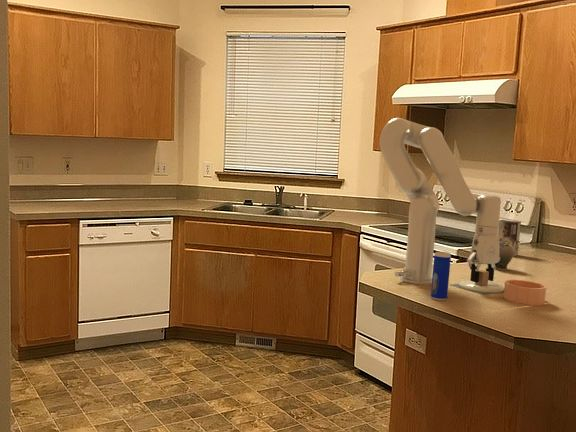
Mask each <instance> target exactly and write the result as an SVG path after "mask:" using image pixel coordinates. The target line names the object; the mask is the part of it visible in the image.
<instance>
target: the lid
mask: <svg viewBox="0 0 576 432" xmlns="http://www.w3.org/2000/svg"><path fill="white" fill-rule="evenodd" d="M478 271H480V273H479V282H478V283H476V282H472V281H470V280H469V279H467V280H460V281H459V283H458V284H459V286H460V287H461V288H463V289H462V290H464V289H466V290H465V291H468V290H470V291H469V292H471V291H475V292H482V293H495V294H501V293H500V292H503V291H504V286H503V285H501V284H498V283H496V282H495V283H494V282H492V281H489V280H488V277H489V272H488V271H486V270H484V269H479V270H478ZM461 288H460V289H461ZM503 293H504V292H503Z"/></svg>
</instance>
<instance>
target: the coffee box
mask: <svg viewBox="0 0 576 432" xmlns="http://www.w3.org/2000/svg"><path fill="white" fill-rule="evenodd" d="M521 223H522V222H521V221H516V220H508V219H501V220H500V219H499V226H498V235H499V242H500V241H501V239H502V242H507V243H508V242H509V244H510V245H512V247H513V249H514V252H515V254H514V256H513V257H516V256H518V255H519V249H520V248H519V246H520V236H521V235H520V234H521Z"/></svg>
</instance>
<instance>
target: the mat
mask: <svg viewBox="0 0 576 432" xmlns="http://www.w3.org/2000/svg"><path fill="white" fill-rule="evenodd" d="M450 286H451V287H455V288H458V289H462V290H465V291H468V292H472V293H474V294H477V295H482V296H485V295H492V294H493V295H494V294H495V295H496V293H482V292H475V291H470V290H466V289H463V288H461V287H460V286H459V283H454V284H453V283H452V284H450ZM501 293H502V294H504V291H503V292H500V293H499V294H501Z"/></svg>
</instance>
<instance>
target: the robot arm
mask: <svg viewBox="0 0 576 432" xmlns="http://www.w3.org/2000/svg"><path fill="white" fill-rule="evenodd" d="M405 145H408V146H411V147H414V148H418V149H421V151H422V153H423V155H424V157H425V158H426V160H427V161H428V163H429V165H430V167H431V169H432V171H433V173H434V175H435V176H436V179H437V180H438V182H439V183H440V185H441V187H442V188H443V190H444V192H445V194H446V196H447V198H448V200H449V202H450V203H451V205H452V207H453V209H454V210H455V211H456V213H457V214H459V215H460V216H464V217H467V216H471V215H473V214H476V221H475V229H474V230H475V231H474V236H473V239H472V243H471V247H470V248H471V249H470V254H469V257H468V258H467V259H466V262H467V264H468V267H469V270H470V281H472V282H476V283H478V282H479V273H480V271H478V270H480V267H481V266H482V265H486V267H487V268H485V271H488V272H489V277H488V282H493V281H494V278H495V277H494V275H495V270H497V269H496V266H497V264H498V262H499V260H500V257H499V249H500V244H499V235H498V228H499V221H500V214H501V204H502V200H501V197H500V196H498V195H490V194H477V193H472V191H471V190H470V187H468V184H467V183H466V181H465V178H464V177H463V174H462V172H461V171H462V170H461V169H460V165H459V163H458V161H457V160H456V159H457V158H455V156H454V154H453V152H452V150H451V149H450V147H449V145H448V143H447V142H446V140H445V138H444V135H443V133H442V131H441V130H440V129H438V128H436V127H433V126H432V127H431V126H427V125H423V124H419V123H416V122H414V121H411V120H407V119H405V118H401V117H395V118H391V120H389V121H387V123H386V124H385V125H384V127H383V129H382V130H381V133H380V136H379V149H380V152H381V155H382V157H383V159H384V162H385V163H386V165H387V168H388V169H389V171H390V173H391V175H392V177H393V180H394V181H395V183H396V185H397V187H398V189H399V190H400V191H401V192H402V193H404V194H405V195H406V198H407V199H408V201H409V203H410V204H409V207H408V209H409V210H408V229H407V240H406V241H407V243H406V253H405V254H406V255H405V266H404V267H403V268H402V270H401V271H400V270H399V271H398V270H397V271H395V272H394V275H395V276H394V277H396V278H399V279H400V281H402V282H405V283H409V284H415V285H417V284H418V285H432V276H433V264H434V253H435V252H434V251H435V241H436V239H435V238H436V228H437V226H436V225H437V215H438V211H439V209H440V201H439V199H438V197H437V195H436V193H435V192H434V189H433V188H432V186H431V184H430V182H429V180H428V179H427V177H426V174H425V173H424V172H423V171H422V170H421V169H420V168H418V167H417V166H416V165H415V164H414V162H413V159H412V158H411V156H410V154H409V152H408V150H407V149H406V146H405Z"/></svg>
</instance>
